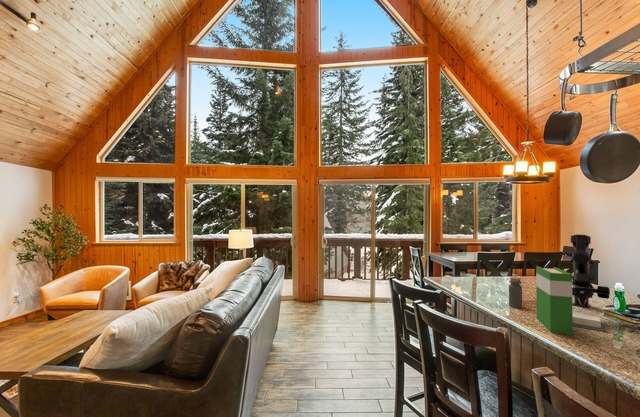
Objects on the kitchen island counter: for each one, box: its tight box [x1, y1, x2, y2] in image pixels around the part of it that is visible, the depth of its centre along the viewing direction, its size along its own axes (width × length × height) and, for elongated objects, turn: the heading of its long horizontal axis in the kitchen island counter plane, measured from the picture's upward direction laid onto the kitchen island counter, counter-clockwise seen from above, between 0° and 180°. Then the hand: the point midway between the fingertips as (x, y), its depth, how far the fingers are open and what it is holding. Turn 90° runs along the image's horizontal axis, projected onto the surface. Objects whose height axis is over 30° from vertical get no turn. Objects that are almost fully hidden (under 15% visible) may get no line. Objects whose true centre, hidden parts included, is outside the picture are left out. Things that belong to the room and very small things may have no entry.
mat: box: [573, 322, 609, 333], centre depth 135 cm, size 12×15×1 cm
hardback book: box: [535, 265, 574, 336], centre depth 132 cm, size 18×7×24 cm, turn 160°
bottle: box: [508, 276, 523, 309], centre depth 161 cm, size 6×6×15 cm
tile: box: [573, 310, 602, 329], centre depth 136 cm, size 3×11×11 cm
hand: (582, 305), depth 139 cm, fingers closed
